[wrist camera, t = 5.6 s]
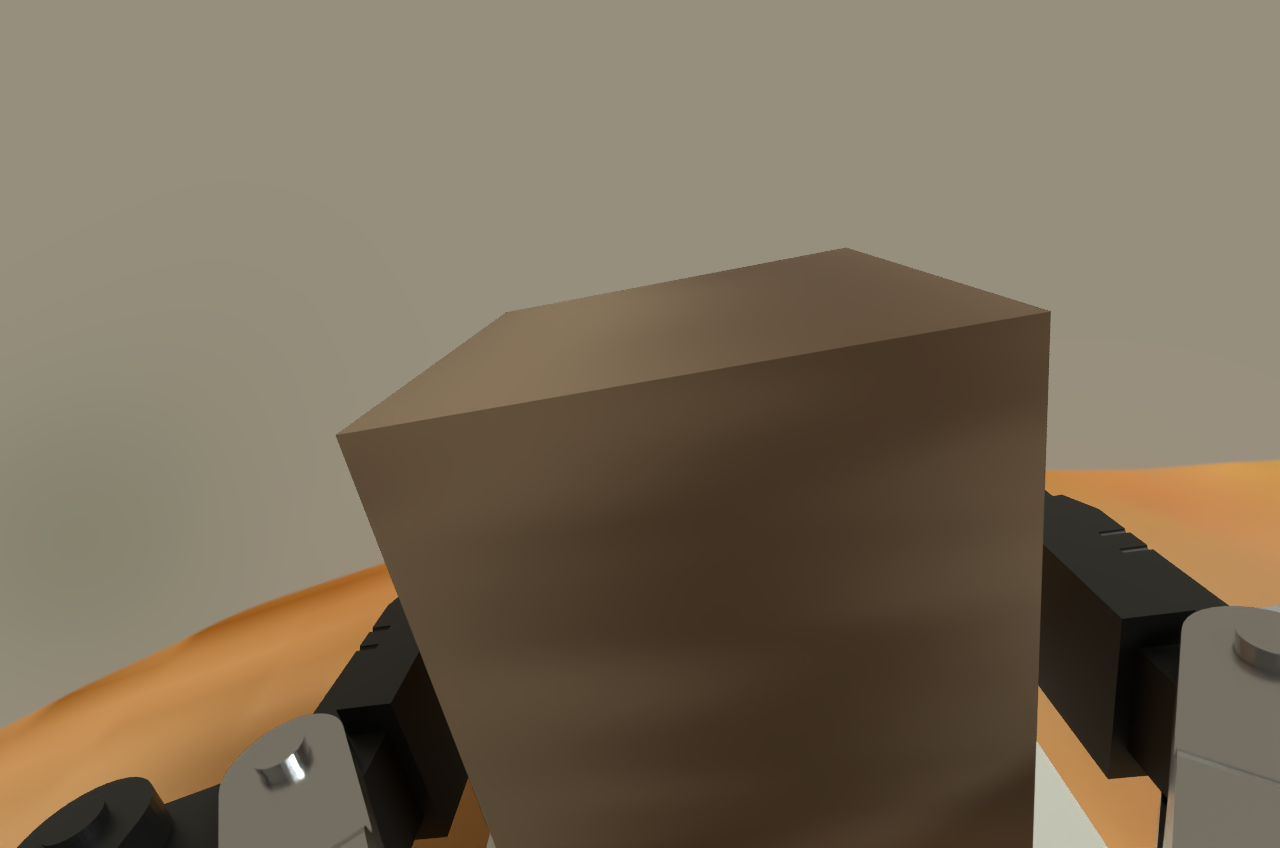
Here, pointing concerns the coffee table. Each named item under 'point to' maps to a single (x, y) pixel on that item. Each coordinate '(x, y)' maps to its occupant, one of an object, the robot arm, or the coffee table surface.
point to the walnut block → (731, 558)
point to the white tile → (1048, 812)
